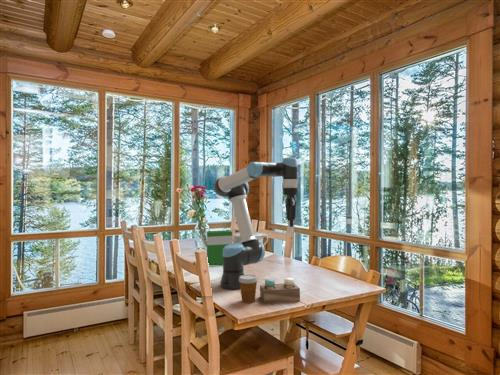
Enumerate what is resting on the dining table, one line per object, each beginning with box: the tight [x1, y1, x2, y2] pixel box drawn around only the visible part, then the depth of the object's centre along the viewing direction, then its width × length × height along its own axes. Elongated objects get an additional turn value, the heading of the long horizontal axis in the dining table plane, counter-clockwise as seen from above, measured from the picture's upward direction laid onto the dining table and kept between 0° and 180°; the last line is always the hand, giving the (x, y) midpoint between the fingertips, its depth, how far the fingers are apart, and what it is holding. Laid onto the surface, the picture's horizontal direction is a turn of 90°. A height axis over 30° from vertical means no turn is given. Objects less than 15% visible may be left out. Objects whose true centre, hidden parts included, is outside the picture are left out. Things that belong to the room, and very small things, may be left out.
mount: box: [259, 282, 301, 304], centre depth 172 cm, size 10×18×6 cm, turn 100°
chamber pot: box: [232, 230, 269, 247], centre depth 283 cm, size 28×28×21 cm
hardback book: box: [206, 229, 233, 266], centre depth 249 cm, size 18×7×24 cm, turn 104°
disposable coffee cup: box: [239, 274, 259, 304], centre depth 169 cm, size 10×10×12 cm
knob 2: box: [283, 277, 295, 288], centre depth 173 cm, size 5×5×9 cm
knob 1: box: [264, 278, 276, 289], centre depth 171 cm, size 5×5×9 cm
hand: (290, 232), depth 178 cm, fingers closed
